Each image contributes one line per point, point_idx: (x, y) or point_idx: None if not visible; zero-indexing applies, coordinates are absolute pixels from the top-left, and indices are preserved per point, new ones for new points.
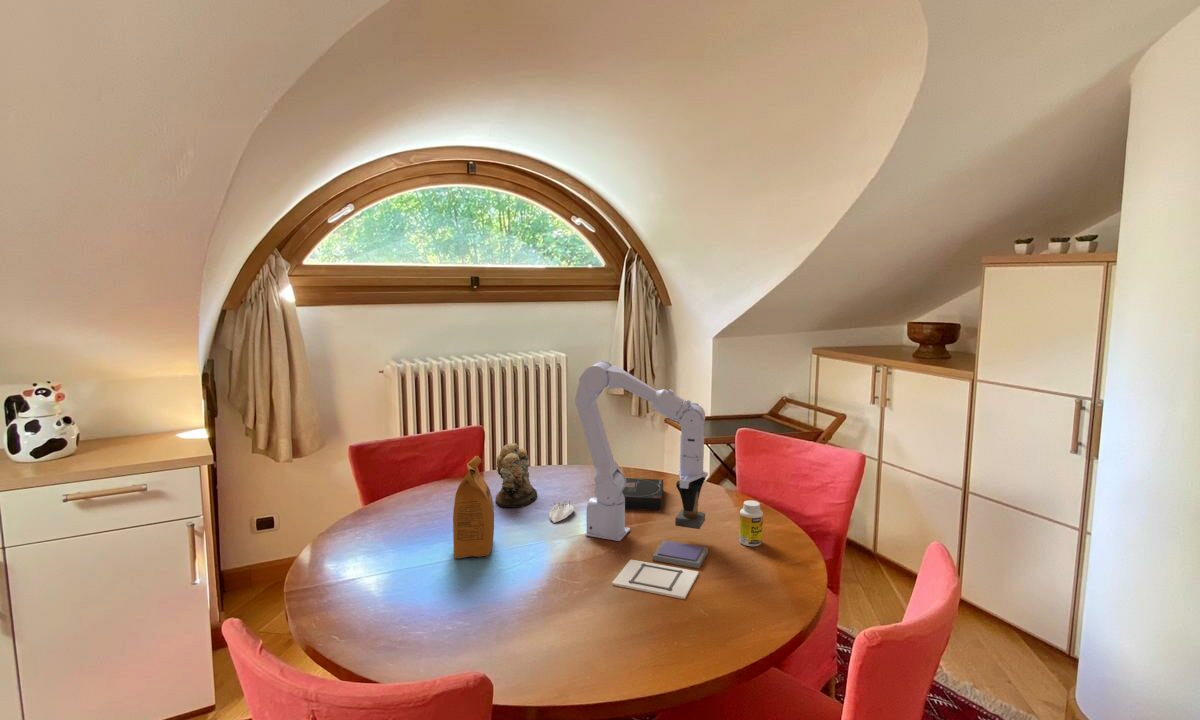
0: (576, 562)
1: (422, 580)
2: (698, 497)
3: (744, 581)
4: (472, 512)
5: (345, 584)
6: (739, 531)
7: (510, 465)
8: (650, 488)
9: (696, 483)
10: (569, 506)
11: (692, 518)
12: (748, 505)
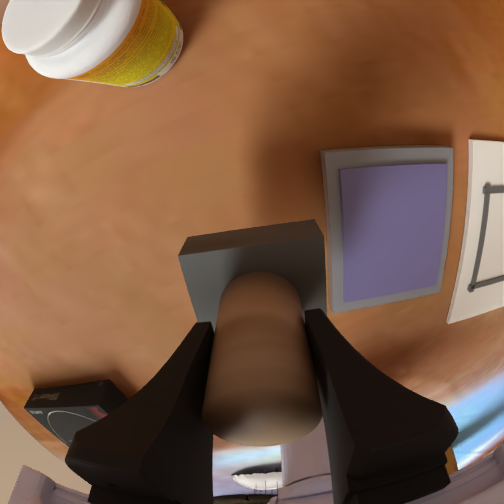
0: (455, 382)
1: (487, 432)
2: (192, 351)
3: (445, 8)
4: None
5: (486, 448)
6: (146, 73)
7: None
8: (75, 425)
9: (181, 455)
10: (257, 482)
11: (299, 282)
12: None
